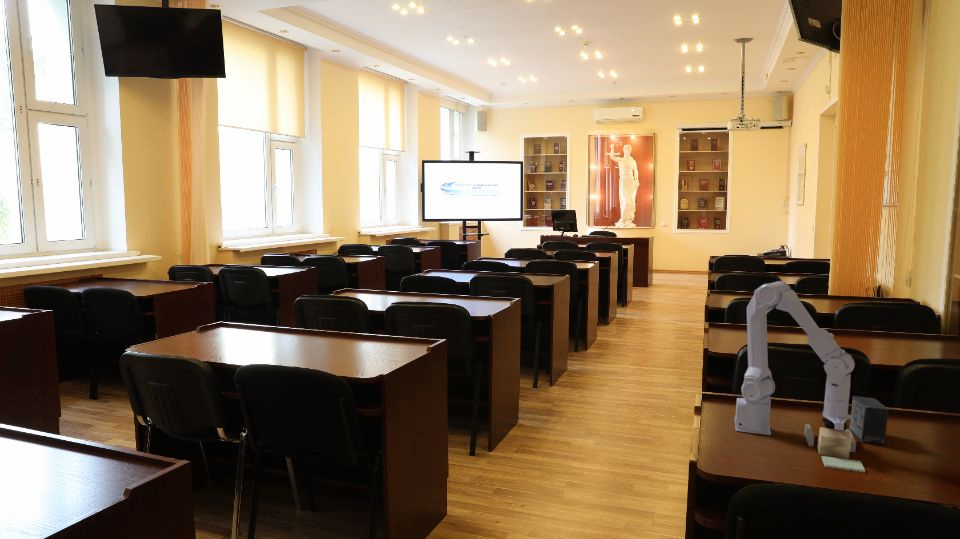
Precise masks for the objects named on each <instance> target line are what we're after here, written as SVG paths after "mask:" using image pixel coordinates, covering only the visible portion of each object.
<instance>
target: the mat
mask: <svg viewBox="0 0 960 539" xmlns="http://www.w3.org/2000/svg"><path fill="white" fill-rule="evenodd" d="M821 460H822V463H823V465H824V467H825V468H829V467H830V468H831V469H836V468H837V470H843V469H844V471H850V470H852V471H851V472H858V471H859V473H866V469H865V467H864V465H863V463H862V461H860V460H855V459H848V458H840V457H833V456H826V455H821Z"/></svg>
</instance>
